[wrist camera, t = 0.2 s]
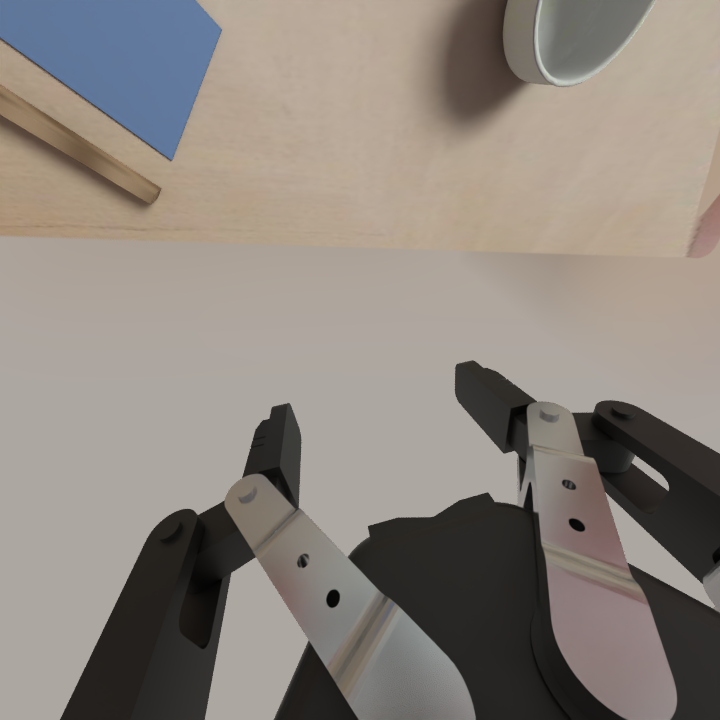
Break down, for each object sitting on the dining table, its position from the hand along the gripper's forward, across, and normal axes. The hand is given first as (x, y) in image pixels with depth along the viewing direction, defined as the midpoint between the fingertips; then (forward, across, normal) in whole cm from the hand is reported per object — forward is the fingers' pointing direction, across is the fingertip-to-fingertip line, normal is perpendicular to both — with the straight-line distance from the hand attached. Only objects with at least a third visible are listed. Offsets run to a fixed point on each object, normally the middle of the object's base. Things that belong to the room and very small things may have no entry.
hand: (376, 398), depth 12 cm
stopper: (+26, +21, -18) cm, 38 cm away
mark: (+24, +13, -24) cm, 37 cm away
